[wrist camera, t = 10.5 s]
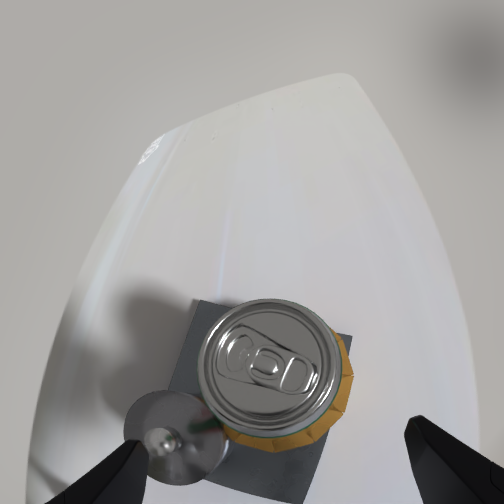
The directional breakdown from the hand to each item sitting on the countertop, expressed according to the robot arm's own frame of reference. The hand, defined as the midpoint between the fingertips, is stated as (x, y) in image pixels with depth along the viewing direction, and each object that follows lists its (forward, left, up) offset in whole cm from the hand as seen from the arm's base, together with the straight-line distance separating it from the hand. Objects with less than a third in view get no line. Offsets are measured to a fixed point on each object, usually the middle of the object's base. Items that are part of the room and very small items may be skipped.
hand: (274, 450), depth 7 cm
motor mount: (+1, +3, -12) cm, 13 cm away
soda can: (+3, +1, -12) cm, 12 cm away
